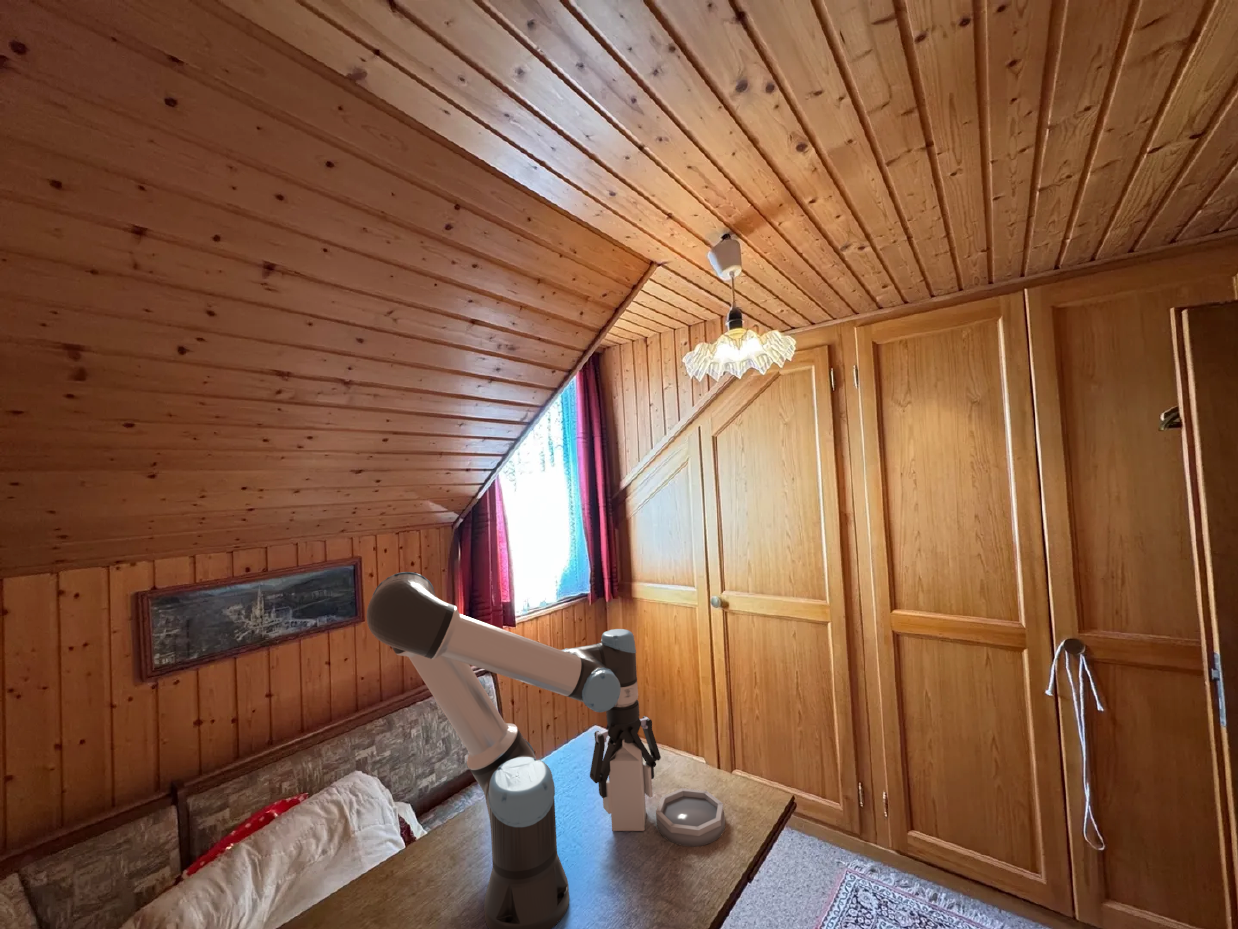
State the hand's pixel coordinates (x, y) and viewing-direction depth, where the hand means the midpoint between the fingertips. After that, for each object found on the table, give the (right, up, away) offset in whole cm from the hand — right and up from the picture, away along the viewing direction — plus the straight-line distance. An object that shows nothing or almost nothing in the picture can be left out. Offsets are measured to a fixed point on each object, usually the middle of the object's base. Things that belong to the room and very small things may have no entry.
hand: (628, 802), depth 115 cm
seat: (+14, -3, -2) cm, 14 cm away
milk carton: (0, -4, 0) cm, 4 cm away
